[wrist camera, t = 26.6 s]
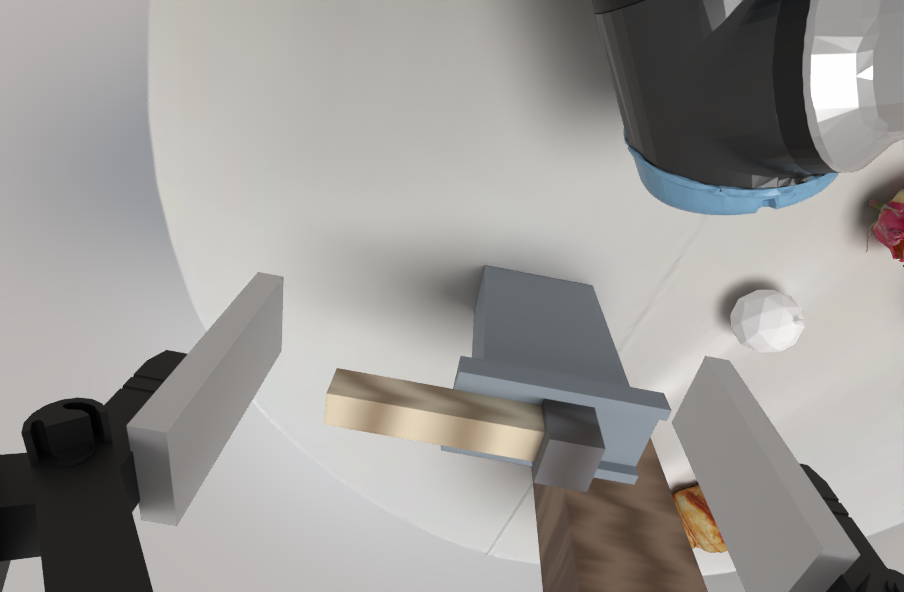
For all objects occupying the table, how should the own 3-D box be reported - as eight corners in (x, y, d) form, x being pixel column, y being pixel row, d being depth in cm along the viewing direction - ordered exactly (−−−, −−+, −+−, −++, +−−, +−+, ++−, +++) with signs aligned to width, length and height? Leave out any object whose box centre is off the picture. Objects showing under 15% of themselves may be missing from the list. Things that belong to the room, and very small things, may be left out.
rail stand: (455, 316, 61) (441, 450, 43) (468, 253, 57) (459, 371, 39) (591, 341, 62) (634, 484, 43) (613, 281, 58) (671, 410, 39)
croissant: (629, 521, 81) (652, 578, 76) (605, 514, 74) (629, 577, 69) (768, 468, 74) (804, 528, 69) (757, 454, 66) (796, 520, 62)
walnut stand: (530, 460, 71) (555, 727, 45) (550, 403, 66) (591, 665, 40) (618, 476, 72) (692, 749, 45) (644, 420, 67) (744, 690, 41)
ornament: (713, 290, 58) (775, 288, 51) (760, 290, 60) (826, 288, 53) (715, 351, 57) (777, 357, 51) (762, 348, 60) (828, 353, 53)
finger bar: (333, 404, 42) (318, 444, 39) (337, 360, 40) (321, 398, 37) (578, 448, 43) (586, 492, 39) (594, 407, 41) (605, 449, 37)
